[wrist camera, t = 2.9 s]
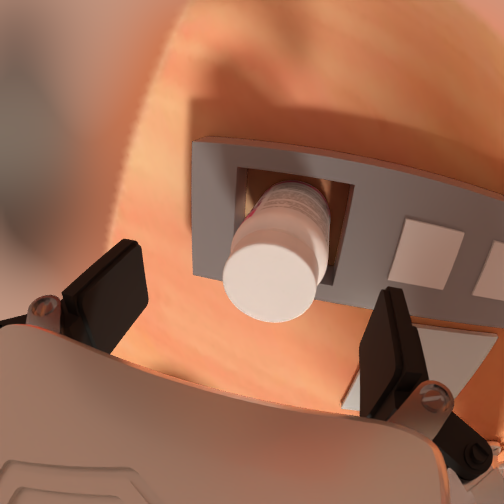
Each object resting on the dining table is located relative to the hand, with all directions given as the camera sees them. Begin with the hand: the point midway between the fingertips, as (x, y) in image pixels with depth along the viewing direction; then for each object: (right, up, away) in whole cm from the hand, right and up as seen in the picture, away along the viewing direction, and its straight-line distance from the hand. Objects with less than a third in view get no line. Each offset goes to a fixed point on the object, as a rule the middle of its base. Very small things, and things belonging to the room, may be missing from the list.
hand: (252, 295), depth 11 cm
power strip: (+9, +3, +7) cm, 12 cm away
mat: (+15, -10, +12) cm, 22 cm away
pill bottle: (+3, +4, +9) cm, 10 cm away
